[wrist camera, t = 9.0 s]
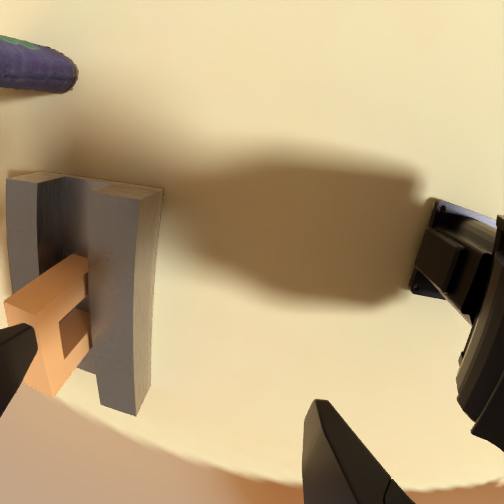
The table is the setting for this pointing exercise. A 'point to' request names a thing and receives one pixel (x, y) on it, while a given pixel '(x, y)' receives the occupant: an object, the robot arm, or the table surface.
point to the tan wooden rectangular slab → (54, 322)
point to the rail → (94, 266)
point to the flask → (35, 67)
